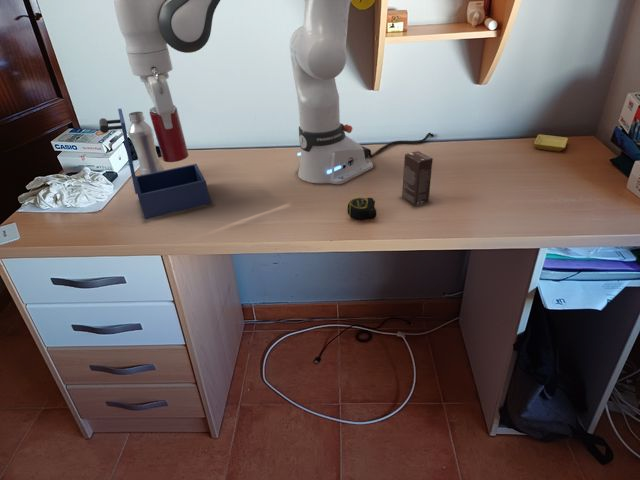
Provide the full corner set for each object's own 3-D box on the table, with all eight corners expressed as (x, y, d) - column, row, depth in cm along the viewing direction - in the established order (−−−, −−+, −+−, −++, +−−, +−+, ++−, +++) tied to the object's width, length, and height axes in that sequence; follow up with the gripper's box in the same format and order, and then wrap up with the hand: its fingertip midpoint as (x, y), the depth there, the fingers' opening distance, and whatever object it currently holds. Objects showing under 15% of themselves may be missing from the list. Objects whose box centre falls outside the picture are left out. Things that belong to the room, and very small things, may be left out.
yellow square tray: (563, 154, 133) (565, 147, 132) (532, 149, 137) (533, 143, 136) (566, 144, 140) (568, 137, 138) (536, 140, 143) (538, 134, 142)
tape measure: (376, 223, 106) (376, 209, 104) (347, 223, 106) (347, 210, 104) (374, 209, 111) (375, 195, 109) (347, 209, 112) (347, 196, 110)
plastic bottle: (159, 185, 130) (140, 117, 119) (138, 184, 131) (118, 117, 120) (169, 175, 135) (152, 109, 124) (149, 174, 136) (131, 109, 126)
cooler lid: (121, 108, 109) (97, 110, 107) (124, 122, 99) (98, 125, 97) (134, 174, 118) (112, 177, 116) (139, 193, 108) (115, 197, 106)
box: (429, 202, 113) (433, 158, 106) (414, 207, 111) (418, 162, 105) (415, 193, 117) (418, 150, 111) (401, 197, 116) (403, 153, 109)
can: (183, 150, 117) (171, 102, 110) (192, 157, 112) (179, 107, 105) (159, 156, 114) (145, 108, 107) (167, 164, 110) (153, 114, 103)
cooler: (201, 187, 127) (196, 163, 123) (211, 205, 117) (205, 180, 113) (141, 201, 122) (133, 176, 118) (145, 221, 112) (137, 195, 108)
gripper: (172, 69, 94) (187, 133, 101) (159, 54, 110) (173, 110, 117) (140, 74, 92) (158, 139, 99) (133, 58, 108) (148, 115, 115)
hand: (166, 123), depth 108 cm, fingers closed on can, 6 cm apart
